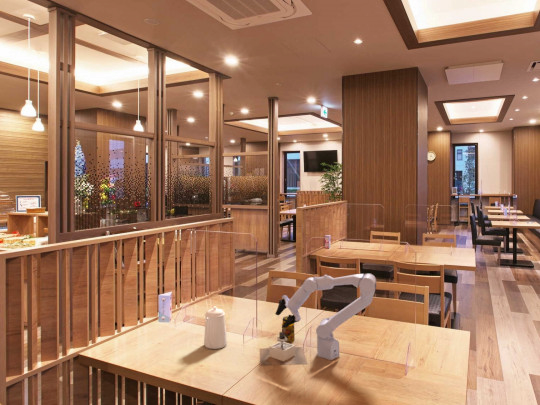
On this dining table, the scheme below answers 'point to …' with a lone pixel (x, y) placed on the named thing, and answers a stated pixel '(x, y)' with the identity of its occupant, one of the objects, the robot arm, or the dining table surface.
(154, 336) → the dining table surface
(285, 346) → the plunger
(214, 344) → the coffeepot
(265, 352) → the board
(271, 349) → the press housing
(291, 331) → the condiment
